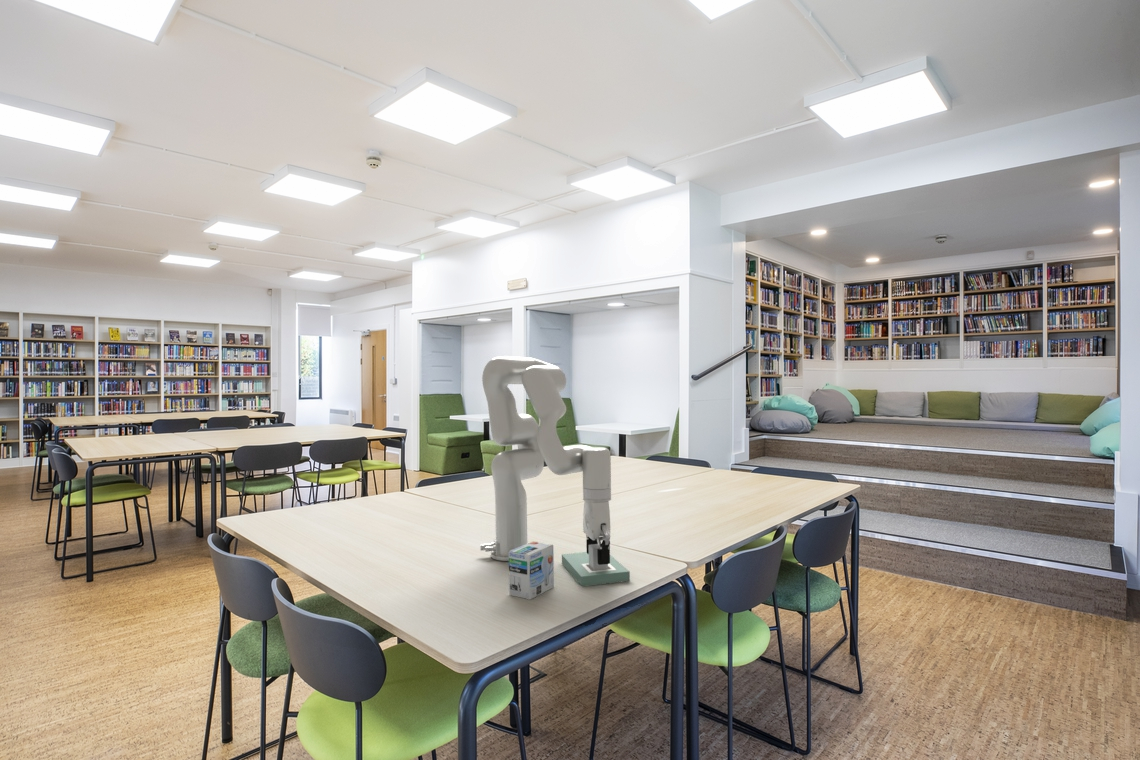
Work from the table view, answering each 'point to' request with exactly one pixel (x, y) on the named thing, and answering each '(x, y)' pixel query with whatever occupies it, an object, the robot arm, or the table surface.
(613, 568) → the board
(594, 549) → the plug
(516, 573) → the light bulb box
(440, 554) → the table surface
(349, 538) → the table surface
